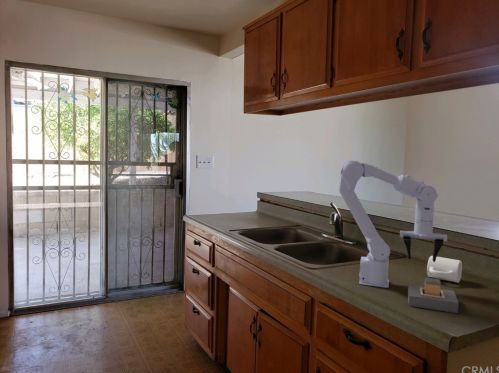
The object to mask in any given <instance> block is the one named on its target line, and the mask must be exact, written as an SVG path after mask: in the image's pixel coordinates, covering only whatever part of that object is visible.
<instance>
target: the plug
mask: <svg viewBox="0 0 499 373" xmlns="http://www.w3.org/2000/svg"><path fill="white" fill-rule="evenodd" d="M441 285H442V284H441V279H436V278H431V277H424V286H423V287H424V294H426V295H433V296H440V289H441Z"/></svg>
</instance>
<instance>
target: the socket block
mask: <svg viewBox="0 0 499 373" xmlns="http://www.w3.org/2000/svg"><path fill="white" fill-rule="evenodd" d="M407 286H408V287H407V301H408V306H409V307H414V308H415V307H416V308H421V309H428V310H435V311H441V312H447V313H455V314H458V313H459V300H458V298H457V295H456V293H455V291H454V290H452V289H450V290H449V289H442V288H440V296H433V295H426V294H424V286H421V285H414V284H413V285H412V284H408V285H407Z"/></svg>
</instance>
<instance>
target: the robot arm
mask: <svg viewBox="0 0 499 373" xmlns="http://www.w3.org/2000/svg"><path fill="white" fill-rule="evenodd" d="M339 176H340V177H339V187H338V192H339V193H340V195H341V197H342V198H343V200H344V202H345V204H346V206H347V208H348V210H349V212H350V213H351V215H352V217H353V219H354V220H355V222H356V224H357V226H358V228H359V230H360V231H361V233H362V235H363V236H364V238H365V240H366V244H367V245H366V246H367V250H368V254H366V256H361V257H360V262H359V263H360V265H359V272H358V273H359V275H358V276H359V282H358V283H359V284H360V285H365V286H370V287H371V286H372V287H377V288H378V287H379V288H385V289H388V288H390V287H389V285H390V280H389V278H388V277H389V264H390V258H389V257H390V254H391V247H390V245H388V243H386V242H385V240H384V239H383V238H382V237H381V236H380V234H379V233H378V231H377V230H376V226H374V224H373V222H372V220H371V219H370V217H369V214H368V212H366V210H365V208H364V205H362V203H361V201H360V198H359V197H358V195H357V193H356V191H355V190H356V186H357V183H358V181H360V180H361V178H362V177H363V178H369V177H370V178H371V177H372V178H375V179H378V180H380V181H382V182H385V183H388V184H390V185H392V186H393V187H394V188H393V189H394V190H395V191H397V192H399V193H402V194H404V195H406V196H408V197H411V198H415V200H416V201H415V211H414V226H413V227H414V228H413V230H400V231H399V238H403V239H402V240H403V242H404V245H405V247H406V251H407V258H408V260H411V258H412V256H411V255H412V254H411V250H412V247H411V245H412V239H422V240H423V239H424V240H433V253H432V256H433V262H435V261H436V257H438V254H439V252H440V250H441V248H443V245H444V242H448V235H447V234H444V233H437V232H433V230H434V214H435V201H436V200H437V198H438V195H439V194H438V193H437V190H436V189H435V187H433V186H431V185H428V184H426V183H425V181H423V180H420V181H419V180H417V179H414V178H412V177H411V175H409V174H406V175H404V174H401V175H399V176H397V175H395V174H392V173H390V172H387V171H385V170H383V169H381V168H379V167H376V166H374V165H371V164H368V163H363V162H359V161H357V160H349V161H346V162H345V163H343V166H342V168H341V170H340V173H339Z"/></svg>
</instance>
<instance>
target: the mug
mask: <svg viewBox="0 0 499 373" xmlns="http://www.w3.org/2000/svg"><path fill="white" fill-rule="evenodd" d="M462 271H463V262H462V260H459V259H452V258H447V257H441V256H437V257H436V261H435V262H433V255H430V256H429V257H428V261H427V266H426V274H427V278H433V279H439V280H440V281H441V280H442V281H447V282H452V283H457V284H458V283H460V281H461V278H462V273H463V272H462Z"/></svg>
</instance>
